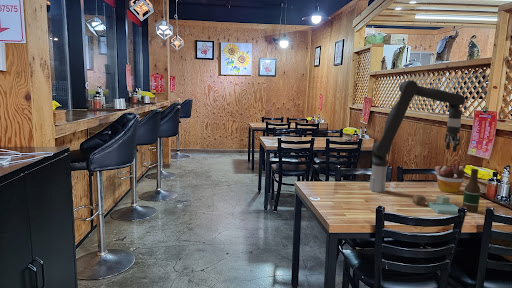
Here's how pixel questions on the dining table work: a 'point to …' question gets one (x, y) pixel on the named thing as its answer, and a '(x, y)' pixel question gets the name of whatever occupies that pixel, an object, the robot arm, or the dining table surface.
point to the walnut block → (419, 200)
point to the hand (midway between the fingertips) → (450, 150)
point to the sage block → (442, 199)
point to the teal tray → (443, 208)
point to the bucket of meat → (450, 177)
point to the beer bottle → (472, 193)
